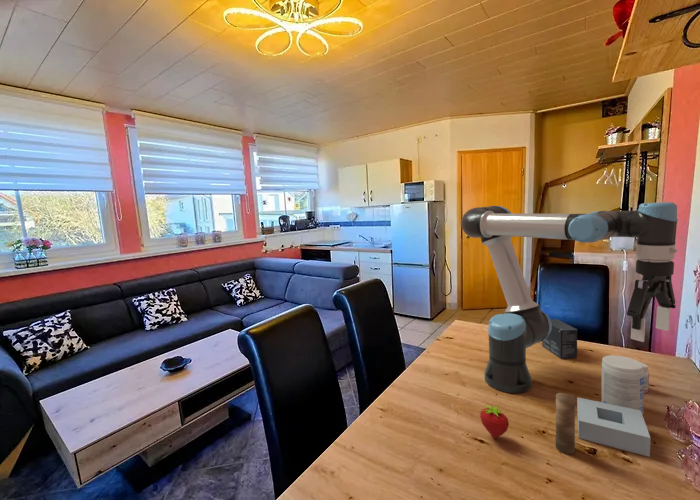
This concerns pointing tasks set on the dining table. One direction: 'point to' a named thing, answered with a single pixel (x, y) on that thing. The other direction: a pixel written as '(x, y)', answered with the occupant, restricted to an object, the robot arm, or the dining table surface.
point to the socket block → (613, 426)
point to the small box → (561, 340)
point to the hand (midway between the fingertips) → (650, 334)
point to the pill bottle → (646, 378)
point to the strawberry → (494, 421)
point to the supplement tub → (623, 382)
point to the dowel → (565, 423)
